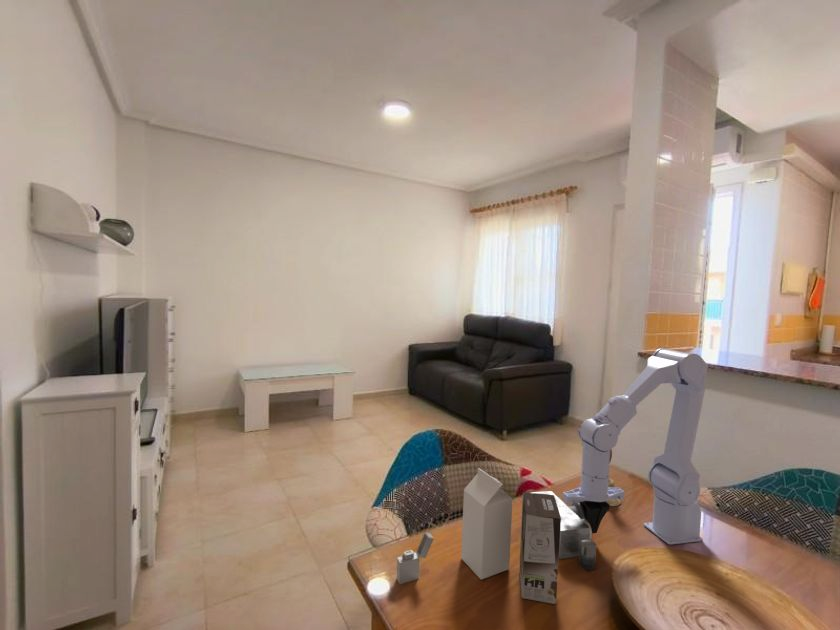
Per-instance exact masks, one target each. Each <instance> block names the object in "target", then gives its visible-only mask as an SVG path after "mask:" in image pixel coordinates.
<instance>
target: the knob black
mask: <svg viewBox="0 0 840 630" xmlns="http://www.w3.org/2000/svg"><path fill="white" fill-rule="evenodd" d="M568 507H569V508H570V509H571V510H572V511H573V512H574V513H575V514H576V515H577V516H578V517H579V518H581V519H585V517H584V514H583V511H582V508H581V506H580V504H579V502H572V503H571V504H570V506H568Z"/></svg>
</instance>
